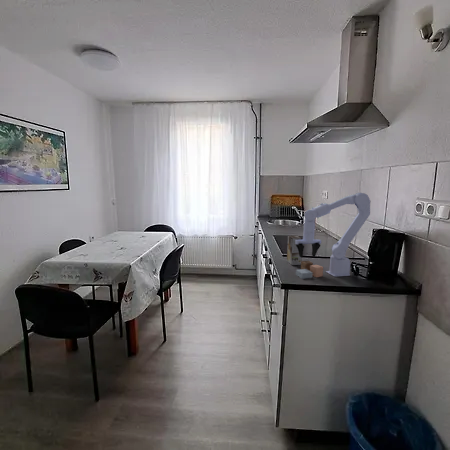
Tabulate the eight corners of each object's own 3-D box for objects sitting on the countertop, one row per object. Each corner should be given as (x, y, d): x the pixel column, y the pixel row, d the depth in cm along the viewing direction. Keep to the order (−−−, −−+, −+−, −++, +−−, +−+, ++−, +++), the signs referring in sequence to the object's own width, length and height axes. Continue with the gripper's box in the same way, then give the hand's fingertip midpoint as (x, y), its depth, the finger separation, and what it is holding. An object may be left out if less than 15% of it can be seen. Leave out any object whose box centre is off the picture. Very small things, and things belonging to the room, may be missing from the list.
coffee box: (301, 265, 157) (303, 238, 154) (291, 265, 156) (292, 238, 154) (296, 260, 166) (297, 235, 163) (286, 260, 165) (287, 235, 163)
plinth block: (305, 274, 141) (306, 269, 141) (312, 278, 135) (312, 272, 135) (295, 275, 140) (296, 269, 139) (301, 279, 134) (301, 273, 133)
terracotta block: (315, 273, 142) (316, 264, 141) (322, 276, 138) (323, 266, 137) (309, 274, 140) (310, 265, 139) (316, 277, 136) (316, 268, 135)
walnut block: (308, 269, 149) (308, 260, 148) (312, 271, 145) (312, 262, 144) (300, 269, 148) (301, 261, 147) (304, 272, 144) (305, 263, 143)
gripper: (317, 230, 149) (315, 254, 151) (293, 231, 145) (291, 255, 147) (324, 232, 142) (322, 257, 144) (299, 233, 139) (297, 258, 141)
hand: (307, 256), depth 145 cm, fingers open, 7 cm apart
